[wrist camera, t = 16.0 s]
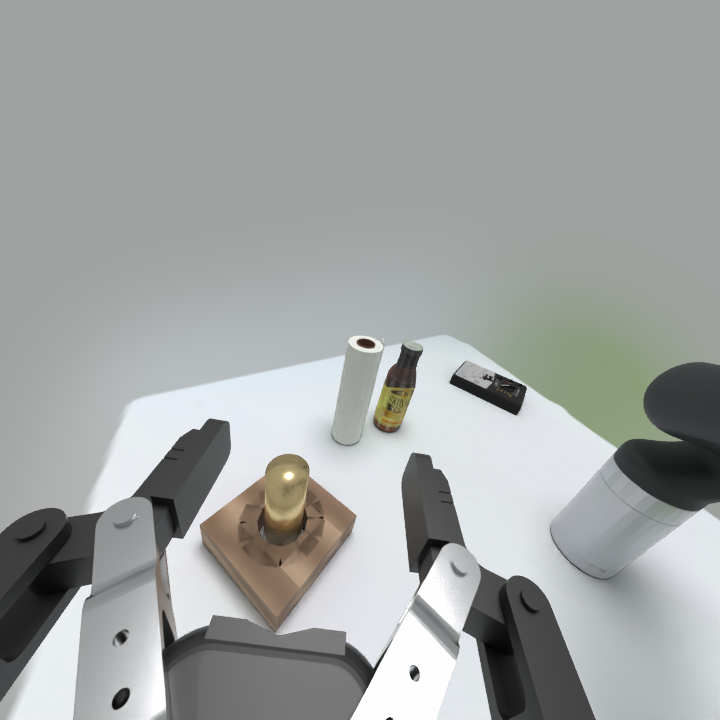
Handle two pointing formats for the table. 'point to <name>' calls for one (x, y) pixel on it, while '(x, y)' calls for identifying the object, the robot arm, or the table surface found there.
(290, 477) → the yellow cylinder peg
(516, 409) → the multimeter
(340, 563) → the table surface
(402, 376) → the sauce bottle
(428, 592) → the robot arm
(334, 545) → the jig
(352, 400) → the paper towel roll
